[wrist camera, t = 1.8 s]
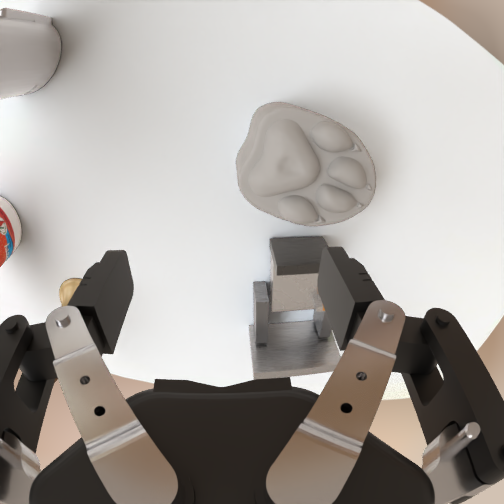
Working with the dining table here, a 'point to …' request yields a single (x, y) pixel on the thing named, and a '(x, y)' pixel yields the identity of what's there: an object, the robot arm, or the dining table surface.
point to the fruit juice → (8, 230)
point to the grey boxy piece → (295, 273)
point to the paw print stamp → (304, 166)
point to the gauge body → (289, 343)
